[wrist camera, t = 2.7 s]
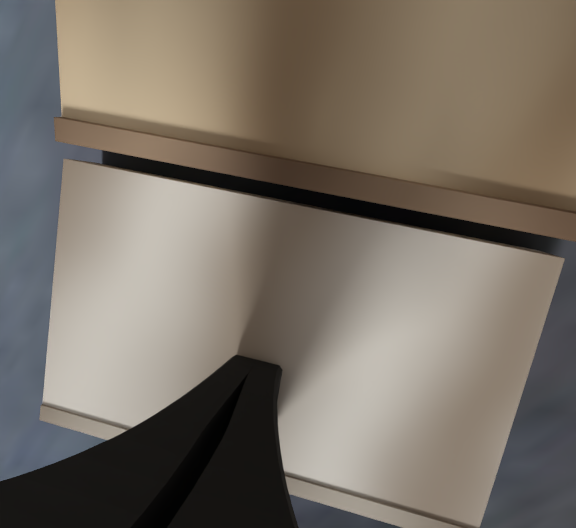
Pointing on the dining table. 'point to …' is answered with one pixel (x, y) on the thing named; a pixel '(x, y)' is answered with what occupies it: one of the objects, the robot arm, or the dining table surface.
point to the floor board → (339, 97)
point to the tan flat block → (299, 333)
